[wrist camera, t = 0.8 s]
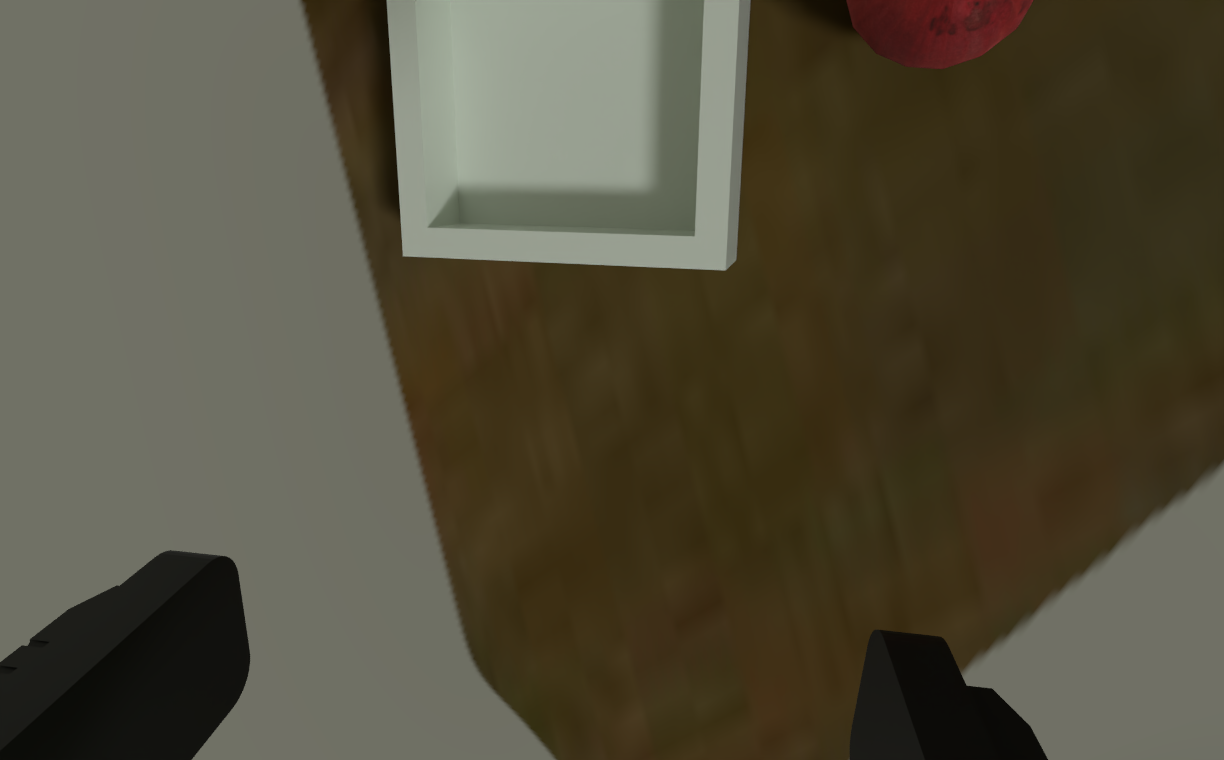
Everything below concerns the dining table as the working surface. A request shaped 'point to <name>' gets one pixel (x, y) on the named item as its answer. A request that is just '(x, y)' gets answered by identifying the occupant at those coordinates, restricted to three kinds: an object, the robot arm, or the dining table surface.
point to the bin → (570, 129)
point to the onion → (935, 28)
